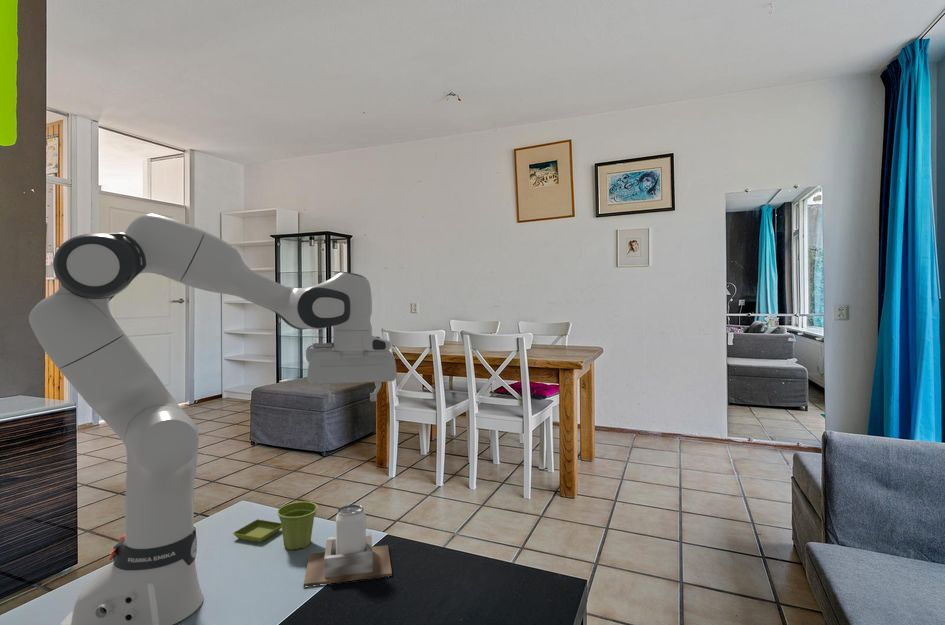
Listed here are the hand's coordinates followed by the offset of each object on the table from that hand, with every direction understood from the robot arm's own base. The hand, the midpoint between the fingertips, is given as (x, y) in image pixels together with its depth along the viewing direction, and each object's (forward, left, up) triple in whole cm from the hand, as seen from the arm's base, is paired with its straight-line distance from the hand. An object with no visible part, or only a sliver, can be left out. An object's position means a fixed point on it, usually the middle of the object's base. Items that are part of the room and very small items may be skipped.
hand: (352, 401), depth 114 cm
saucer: (-23, +17, -36) cm, 46 cm away
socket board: (-1, -5, -37) cm, 37 cm away
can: (0, -5, -35) cm, 36 cm away
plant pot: (-13, +9, -36) cm, 39 cm away
